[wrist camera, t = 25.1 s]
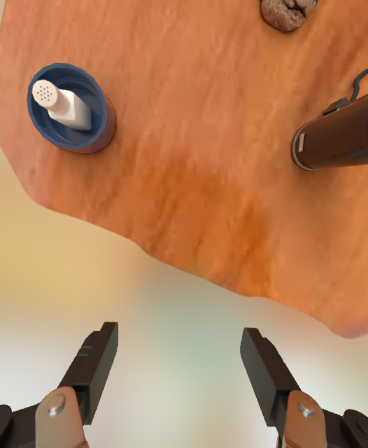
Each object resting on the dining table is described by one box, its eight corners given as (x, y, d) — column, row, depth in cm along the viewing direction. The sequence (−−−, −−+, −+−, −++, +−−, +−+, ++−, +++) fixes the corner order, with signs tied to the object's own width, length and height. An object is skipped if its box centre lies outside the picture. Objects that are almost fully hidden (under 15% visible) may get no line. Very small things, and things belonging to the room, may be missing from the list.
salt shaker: (71, 129, 33) (30, 108, 24) (69, 105, 32) (26, 74, 23) (93, 131, 33) (61, 111, 24) (92, 107, 32) (59, 77, 23)
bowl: (70, 65, 31) (50, 43, 27) (129, 112, 33) (121, 100, 29) (36, 125, 33) (12, 115, 28) (94, 167, 35) (81, 164, 30)
